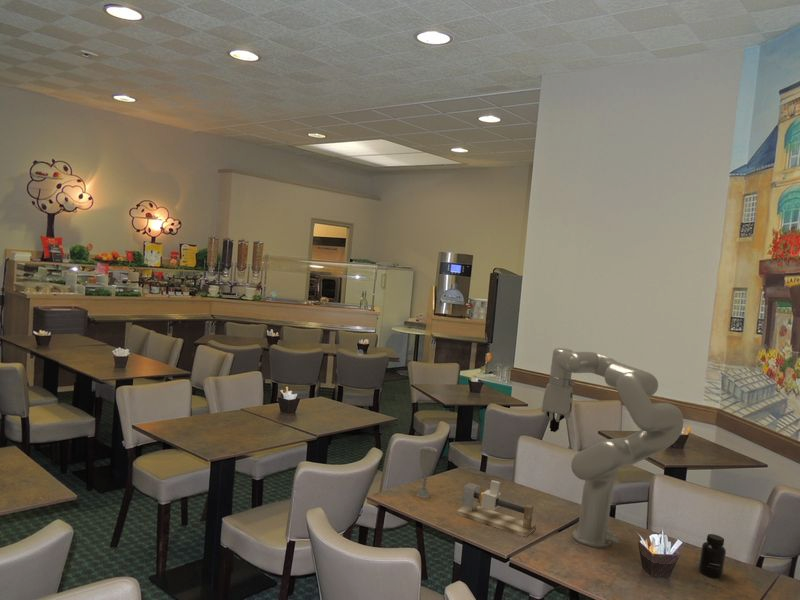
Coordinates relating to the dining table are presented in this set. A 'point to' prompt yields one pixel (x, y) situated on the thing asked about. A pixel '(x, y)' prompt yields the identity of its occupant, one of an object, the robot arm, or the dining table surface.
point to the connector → (471, 497)
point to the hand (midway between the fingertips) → (553, 431)
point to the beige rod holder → (502, 519)
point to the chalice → (426, 467)
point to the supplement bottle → (712, 556)
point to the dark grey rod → (506, 504)
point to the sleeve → (491, 496)
